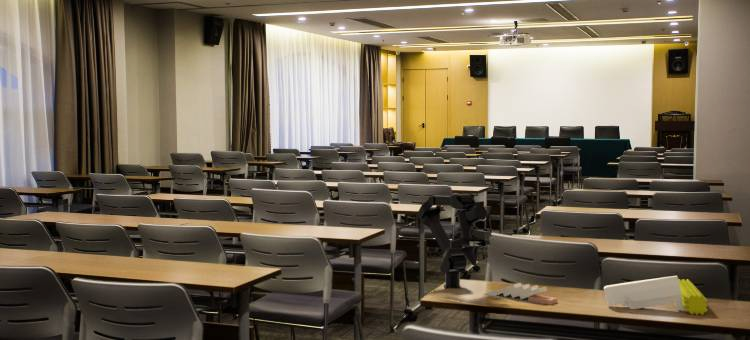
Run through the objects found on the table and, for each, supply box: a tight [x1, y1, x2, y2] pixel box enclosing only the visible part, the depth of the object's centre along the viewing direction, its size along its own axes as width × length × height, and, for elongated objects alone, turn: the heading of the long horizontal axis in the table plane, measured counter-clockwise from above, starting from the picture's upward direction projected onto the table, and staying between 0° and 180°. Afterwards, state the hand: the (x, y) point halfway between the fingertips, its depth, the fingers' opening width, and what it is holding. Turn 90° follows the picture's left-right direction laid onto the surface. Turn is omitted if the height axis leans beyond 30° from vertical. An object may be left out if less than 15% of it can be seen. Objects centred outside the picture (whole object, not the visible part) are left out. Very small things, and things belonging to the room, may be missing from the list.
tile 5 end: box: [528, 294, 558, 305], centre depth 277 cm, size 2×5×9 cm
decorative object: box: [678, 278, 708, 316], centre depth 275 cm, size 7×33×7 cm, turn 166°
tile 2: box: [503, 283, 531, 297], centre depth 284 cm, size 2×5×9 cm
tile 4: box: [519, 286, 548, 299], centre depth 279 cm, size 2×5×9 cm
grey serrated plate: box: [482, 290, 541, 305], centre depth 284 cm, size 24×9×1 cm, turn 48°
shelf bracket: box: [603, 275, 685, 312], centre depth 269 cm, size 6×25×13 cm, turn 77°
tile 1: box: [494, 282, 523, 295], centre depth 286 cm, size 2×5×9 cm
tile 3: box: [511, 284, 540, 298], centre depth 282 cm, size 2×5×9 cm
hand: (474, 265), depth 291 cm, fingers closed
